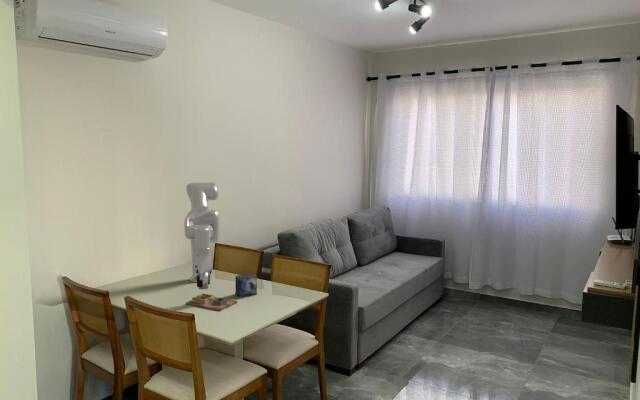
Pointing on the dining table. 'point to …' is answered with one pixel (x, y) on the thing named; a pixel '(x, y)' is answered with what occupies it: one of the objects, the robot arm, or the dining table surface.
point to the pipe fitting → (204, 281)
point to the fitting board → (210, 302)
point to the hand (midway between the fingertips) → (203, 285)
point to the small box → (246, 285)
